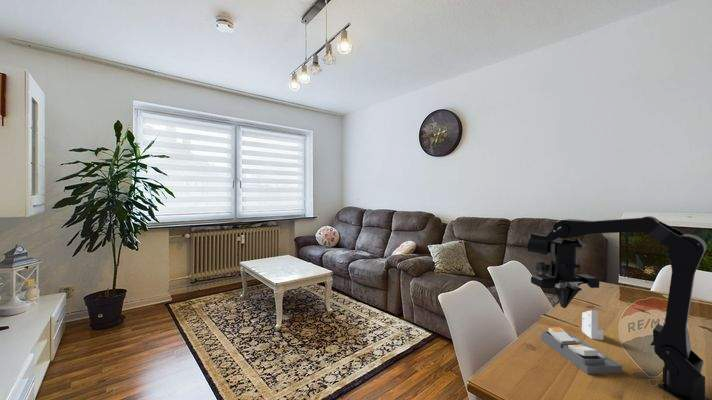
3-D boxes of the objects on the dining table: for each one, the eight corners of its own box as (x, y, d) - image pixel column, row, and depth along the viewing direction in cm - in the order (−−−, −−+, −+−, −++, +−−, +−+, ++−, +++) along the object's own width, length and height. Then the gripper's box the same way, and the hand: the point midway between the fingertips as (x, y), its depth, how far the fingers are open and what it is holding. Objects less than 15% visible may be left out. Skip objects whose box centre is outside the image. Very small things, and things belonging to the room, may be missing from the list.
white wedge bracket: (599, 337, 96) (591, 309, 100) (584, 339, 104) (577, 314, 108) (612, 338, 95) (603, 310, 99) (595, 340, 103) (588, 314, 108)
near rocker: (598, 355, 83) (597, 349, 83) (584, 356, 83) (583, 350, 83) (581, 349, 89) (580, 344, 89) (568, 350, 88) (567, 344, 89)
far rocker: (573, 344, 92) (574, 340, 91) (561, 344, 92) (561, 340, 91) (559, 331, 98) (560, 327, 97) (548, 331, 97) (548, 327, 97)
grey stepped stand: (621, 372, 81) (622, 361, 81) (587, 373, 81) (587, 362, 81) (569, 338, 100) (569, 329, 100) (540, 339, 100) (540, 330, 100)
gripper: (572, 253, 101) (571, 297, 101) (520, 253, 99) (519, 298, 100) (602, 261, 89) (599, 311, 90) (544, 261, 88) (542, 312, 89)
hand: (563, 307), depth 93 cm, fingers closed
